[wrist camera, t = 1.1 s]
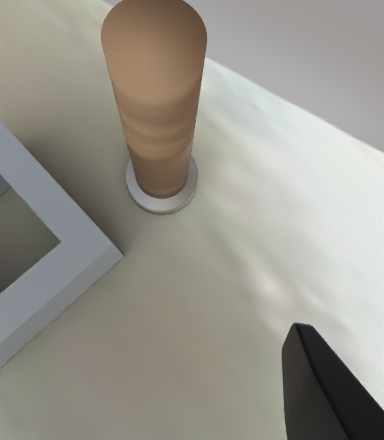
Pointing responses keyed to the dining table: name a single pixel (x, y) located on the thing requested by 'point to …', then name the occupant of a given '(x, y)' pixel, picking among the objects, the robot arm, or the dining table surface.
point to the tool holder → (53, 261)
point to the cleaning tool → (157, 96)
